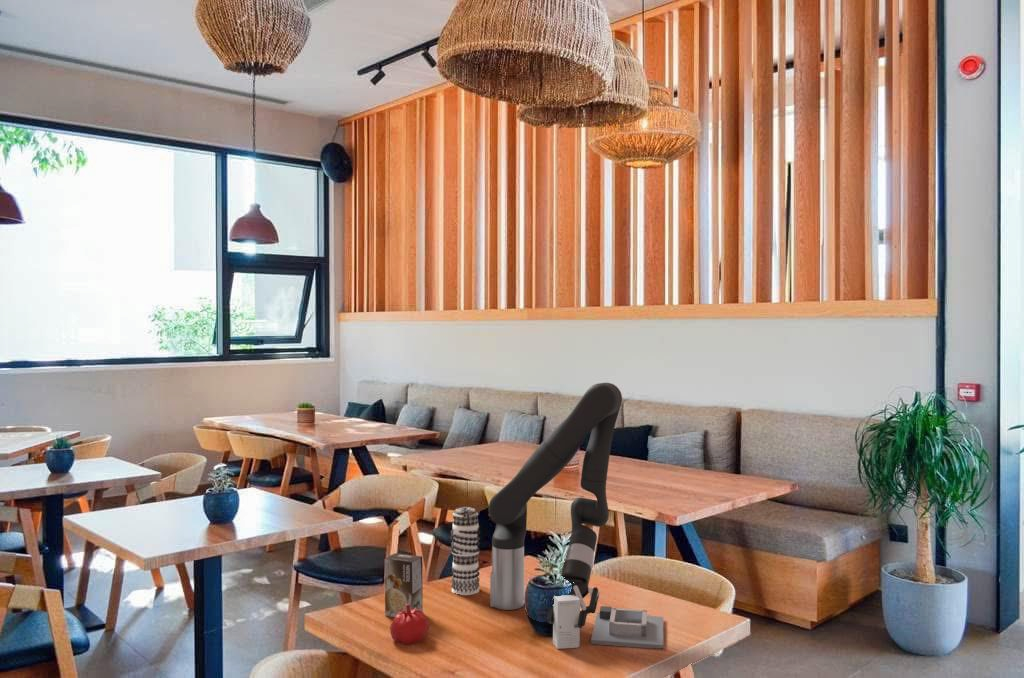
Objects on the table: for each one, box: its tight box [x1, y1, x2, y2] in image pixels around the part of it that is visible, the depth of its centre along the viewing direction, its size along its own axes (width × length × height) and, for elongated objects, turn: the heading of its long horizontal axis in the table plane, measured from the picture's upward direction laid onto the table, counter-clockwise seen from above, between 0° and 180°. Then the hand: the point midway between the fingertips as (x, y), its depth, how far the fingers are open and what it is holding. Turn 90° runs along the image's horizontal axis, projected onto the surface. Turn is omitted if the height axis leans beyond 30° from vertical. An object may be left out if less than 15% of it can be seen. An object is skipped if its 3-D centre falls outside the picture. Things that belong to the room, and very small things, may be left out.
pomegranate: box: [389, 604, 430, 646], centre depth 209 cm, size 10×10×9 cm
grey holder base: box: [590, 605, 664, 649], centre depth 214 cm, size 18×20×3 cm
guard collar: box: [609, 607, 648, 637], centre depth 214 cm, size 9×11×3 cm
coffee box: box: [384, 552, 424, 618], centre depth 227 cm, size 9×6×16 cm
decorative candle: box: [450, 506, 481, 596], centre depth 247 cm, size 9×9×25 cm
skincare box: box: [552, 595, 581, 650], centre depth 205 cm, size 6×4×12 cm
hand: (564, 624), depth 204 cm, fingers closed on skincare box, 7 cm apart
